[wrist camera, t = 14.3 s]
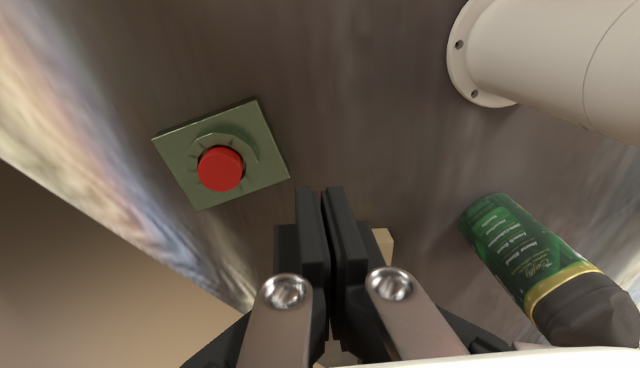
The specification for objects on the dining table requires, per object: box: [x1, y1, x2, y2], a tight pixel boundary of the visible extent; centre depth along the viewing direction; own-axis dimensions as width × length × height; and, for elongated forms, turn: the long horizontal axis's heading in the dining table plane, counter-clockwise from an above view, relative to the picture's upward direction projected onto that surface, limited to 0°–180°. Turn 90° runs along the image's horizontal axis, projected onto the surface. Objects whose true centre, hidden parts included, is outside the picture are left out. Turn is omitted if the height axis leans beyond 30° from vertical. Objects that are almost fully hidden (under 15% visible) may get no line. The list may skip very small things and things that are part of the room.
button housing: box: [151, 95, 290, 212], centre depth 35 cm, size 11×9×4 cm
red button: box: [198, 147, 243, 192], centre depth 32 cm, size 4×4×2 cm
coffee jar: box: [459, 193, 640, 349], centre depth 37 cm, size 10×8×19 cm
